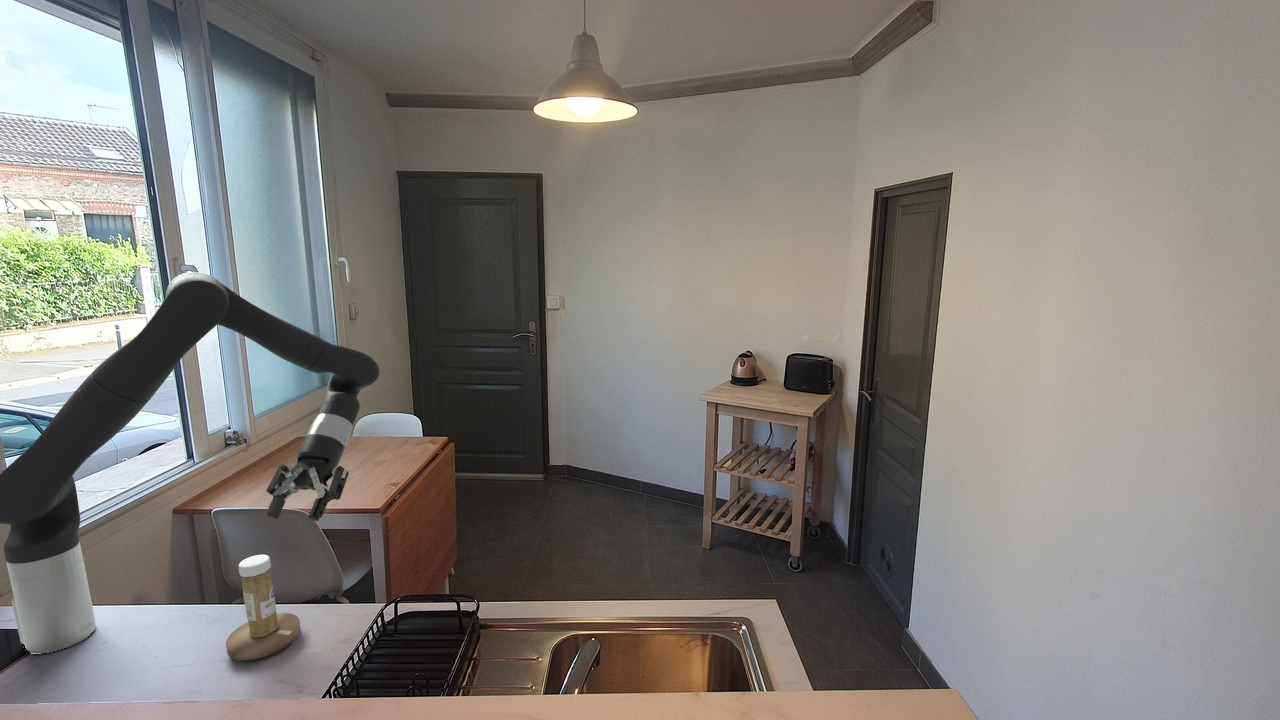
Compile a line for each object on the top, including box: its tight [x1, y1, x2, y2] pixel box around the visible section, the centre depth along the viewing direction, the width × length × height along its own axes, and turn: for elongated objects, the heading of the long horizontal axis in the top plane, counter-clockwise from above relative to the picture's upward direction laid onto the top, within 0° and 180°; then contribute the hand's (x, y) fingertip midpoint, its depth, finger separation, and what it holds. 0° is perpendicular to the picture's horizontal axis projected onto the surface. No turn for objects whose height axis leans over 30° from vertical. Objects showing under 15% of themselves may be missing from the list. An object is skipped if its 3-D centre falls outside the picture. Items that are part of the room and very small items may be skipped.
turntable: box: [225, 612, 302, 661], centre depth 103 cm, size 11×11×2 cm
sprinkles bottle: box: [238, 554, 279, 638], centre depth 102 cm, size 5×5×13 cm
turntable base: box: [238, 641, 294, 663], centre depth 103 cm, size 9×9×1 cm
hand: (292, 518), depth 109 cm, fingers open, 8 cm apart
